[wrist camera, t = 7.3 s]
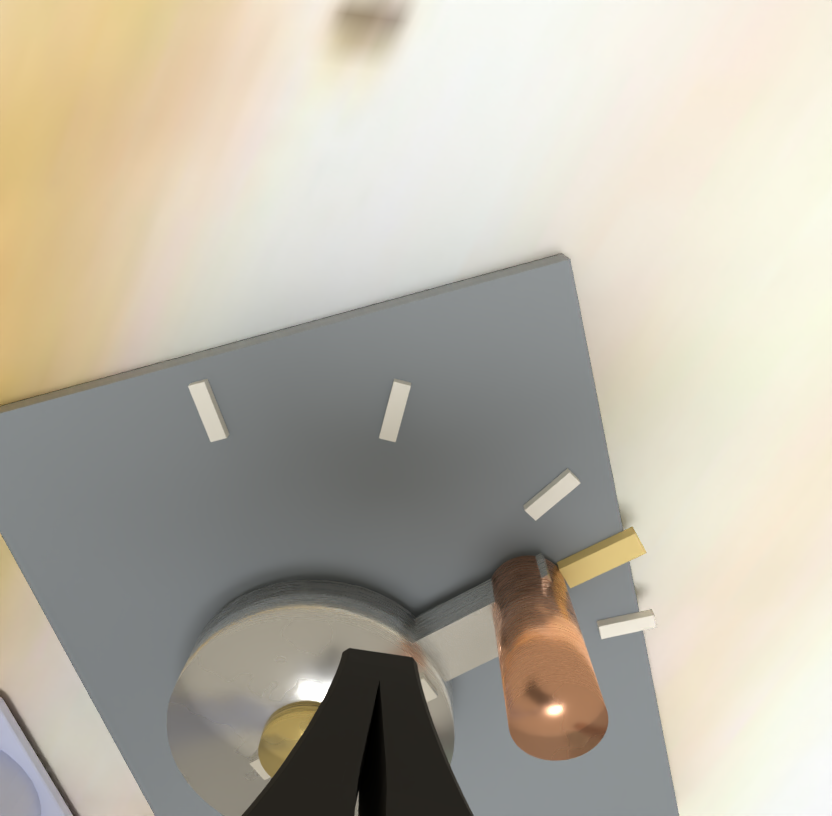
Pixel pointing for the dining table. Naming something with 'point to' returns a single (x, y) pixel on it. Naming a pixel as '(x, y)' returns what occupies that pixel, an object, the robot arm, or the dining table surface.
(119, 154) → the dining table surface
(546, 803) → the board
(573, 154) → the dining table surface
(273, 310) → the dining table surface
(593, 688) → the dial
